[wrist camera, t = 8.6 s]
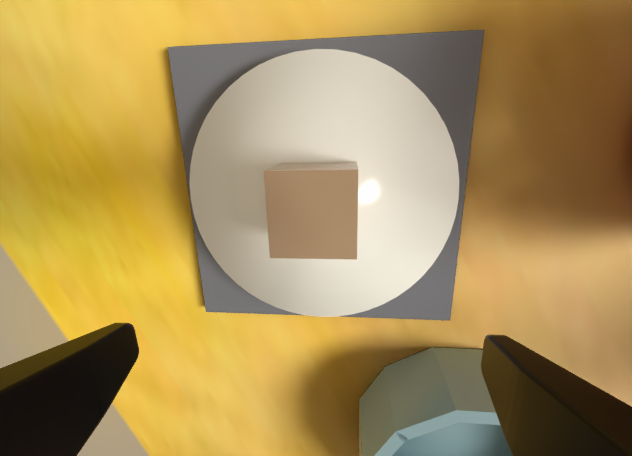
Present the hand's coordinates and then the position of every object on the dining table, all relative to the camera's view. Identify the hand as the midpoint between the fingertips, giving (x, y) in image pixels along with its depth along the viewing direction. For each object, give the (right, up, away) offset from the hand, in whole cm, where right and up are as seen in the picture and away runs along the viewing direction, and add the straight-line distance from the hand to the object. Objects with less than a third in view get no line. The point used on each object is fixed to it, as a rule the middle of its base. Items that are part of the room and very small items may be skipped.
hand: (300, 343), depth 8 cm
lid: (+1, +5, +10) cm, 11 cm away
